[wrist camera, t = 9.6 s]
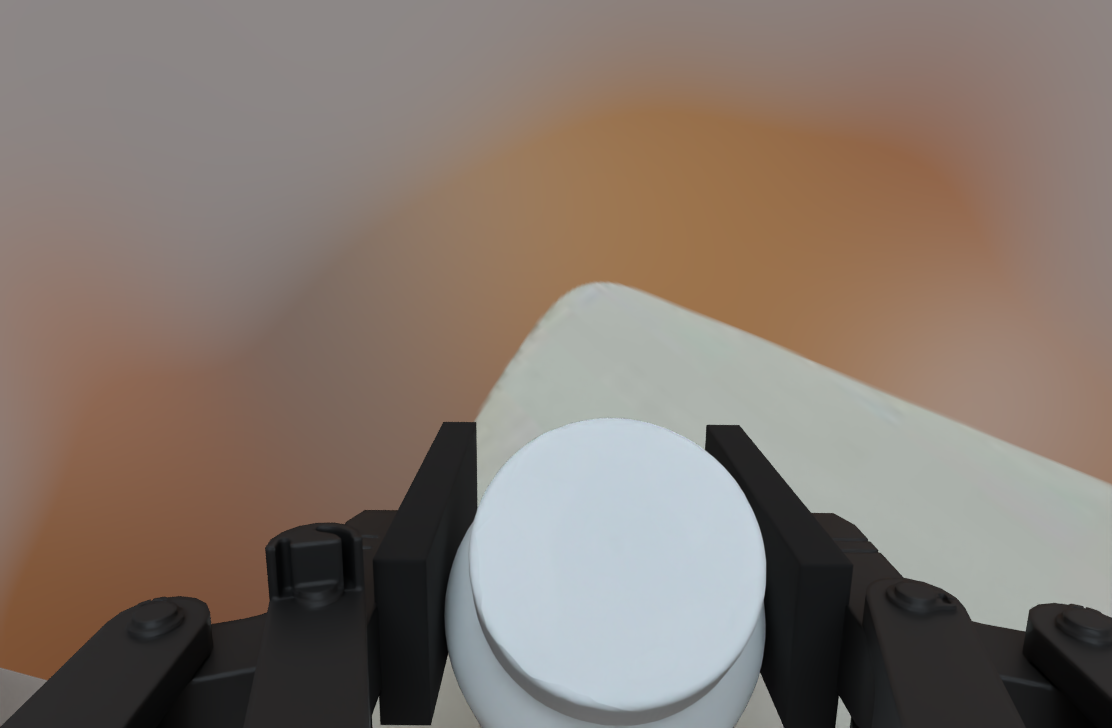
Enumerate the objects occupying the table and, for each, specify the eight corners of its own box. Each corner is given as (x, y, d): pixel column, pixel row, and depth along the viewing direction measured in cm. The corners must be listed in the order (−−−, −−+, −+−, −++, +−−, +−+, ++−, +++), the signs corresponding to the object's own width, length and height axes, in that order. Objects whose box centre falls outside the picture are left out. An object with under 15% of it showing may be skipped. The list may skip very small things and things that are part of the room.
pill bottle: (742, 708, 17) (918, 611, 9) (557, 857, 16) (567, 902, 7) (610, 526, 20) (655, 318, 11) (438, 638, 18) (347, 490, 10)
